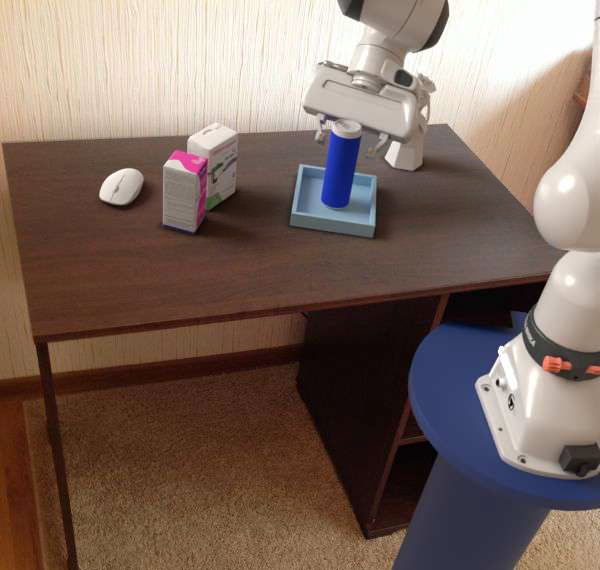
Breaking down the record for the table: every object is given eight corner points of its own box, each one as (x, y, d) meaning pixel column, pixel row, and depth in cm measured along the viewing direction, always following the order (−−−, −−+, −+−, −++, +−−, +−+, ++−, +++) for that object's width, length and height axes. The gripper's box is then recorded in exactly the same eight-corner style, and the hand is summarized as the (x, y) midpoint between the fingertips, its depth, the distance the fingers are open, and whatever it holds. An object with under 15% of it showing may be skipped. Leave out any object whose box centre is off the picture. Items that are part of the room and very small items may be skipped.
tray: (372, 238, 131) (375, 226, 129) (289, 225, 131) (291, 213, 129) (374, 187, 142) (376, 175, 141) (298, 175, 142) (299, 163, 140)
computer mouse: (94, 202, 129) (92, 187, 126) (119, 174, 135) (118, 159, 133) (126, 211, 128) (125, 196, 126) (150, 183, 135) (149, 168, 132)
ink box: (208, 212, 131) (210, 149, 122) (185, 201, 132) (185, 138, 123) (236, 191, 136) (240, 130, 127) (214, 181, 137) (216, 120, 129)
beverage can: (354, 205, 137) (369, 127, 126) (334, 214, 134) (348, 136, 123) (334, 192, 139) (347, 114, 128) (314, 200, 136) (326, 122, 125)
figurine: (399, 173, 147) (421, 83, 134) (378, 152, 152) (397, 63, 138) (429, 168, 150) (453, 79, 137) (407, 148, 154) (428, 60, 141)
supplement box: (195, 235, 126) (196, 174, 117) (161, 227, 126) (160, 165, 118) (206, 217, 130) (208, 156, 121) (174, 209, 130) (173, 148, 122)
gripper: (314, 49, 128) (285, 126, 129) (428, 83, 124) (397, 162, 125) (320, 65, 134) (292, 139, 135) (428, 99, 130) (399, 174, 131)
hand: (344, 151), depth 130 cm, fingers open, 8 cm apart
